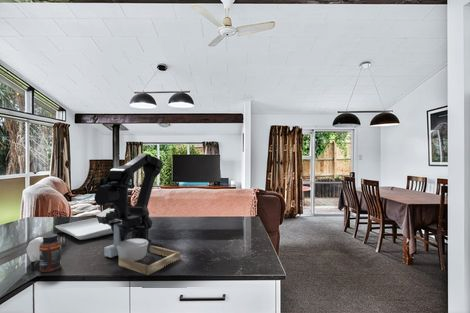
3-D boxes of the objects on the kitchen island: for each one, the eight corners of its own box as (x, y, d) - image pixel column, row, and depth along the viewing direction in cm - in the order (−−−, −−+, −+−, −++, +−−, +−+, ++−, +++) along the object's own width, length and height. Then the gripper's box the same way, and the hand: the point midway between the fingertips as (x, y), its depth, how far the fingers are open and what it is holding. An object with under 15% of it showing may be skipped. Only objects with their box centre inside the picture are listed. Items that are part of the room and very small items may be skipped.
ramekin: (137, 264, 91) (137, 249, 91) (109, 261, 93) (109, 247, 93) (154, 252, 102) (154, 239, 102) (128, 250, 104) (128, 237, 104)
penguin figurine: (24, 239, 91) (49, 232, 103) (23, 264, 90) (48, 254, 102) (42, 239, 91) (65, 232, 103) (41, 264, 90) (64, 254, 102)
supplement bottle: (65, 265, 90) (65, 232, 90) (53, 272, 84) (53, 238, 84) (47, 265, 90) (47, 232, 90) (34, 273, 84) (34, 238, 84)
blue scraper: (104, 255, 98) (104, 226, 98) (127, 247, 106) (127, 220, 106) (110, 257, 96) (111, 227, 96) (133, 249, 104) (133, 221, 104)
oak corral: (151, 251, 103) (151, 245, 103) (179, 258, 96) (179, 252, 96) (118, 265, 90) (118, 258, 90) (148, 275, 83) (148, 267, 83)
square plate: (77, 244, 112) (77, 235, 112) (54, 232, 129) (54, 225, 129) (134, 230, 134) (134, 222, 134) (108, 221, 150) (108, 215, 150)
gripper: (85, 201, 99) (85, 242, 99) (116, 206, 89) (116, 251, 89) (112, 197, 108) (111, 234, 108) (142, 201, 99) (142, 242, 99)
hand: (119, 240), depth 101 cm, fingers closed on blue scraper, 3 cm apart
